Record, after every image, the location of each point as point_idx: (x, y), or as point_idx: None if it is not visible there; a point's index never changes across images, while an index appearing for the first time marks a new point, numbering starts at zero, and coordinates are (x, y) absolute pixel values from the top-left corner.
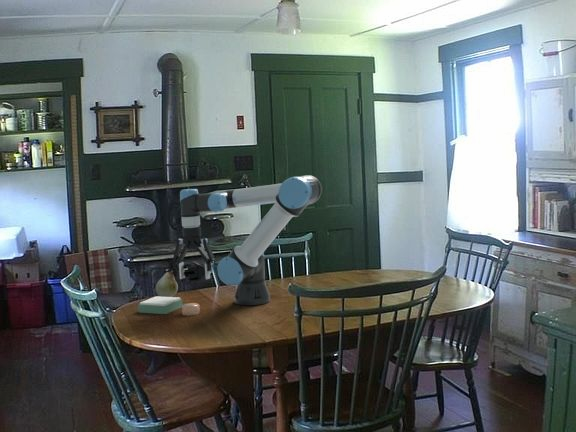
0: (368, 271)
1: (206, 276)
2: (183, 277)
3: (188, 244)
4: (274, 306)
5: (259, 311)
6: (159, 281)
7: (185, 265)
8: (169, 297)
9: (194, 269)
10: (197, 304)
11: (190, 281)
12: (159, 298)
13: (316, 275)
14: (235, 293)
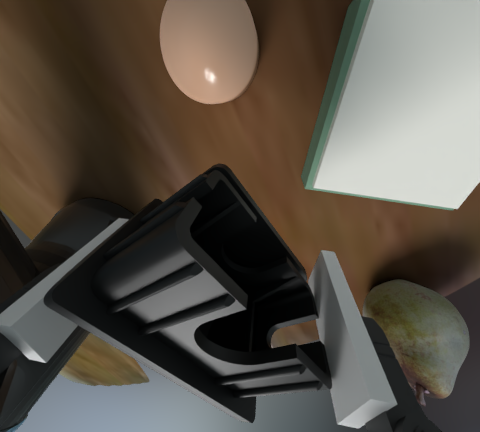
0: (88, 381)
1: (109, 230)
2: (313, 273)
3: None
4: (21, 193)
5: (2, 128)
6: (463, 342)
7: (289, 355)
8: (373, 186)
9: (125, 240)
10: (178, 72)
11: (211, 167)
12: (432, 162)
13: (138, 379)
14: None
